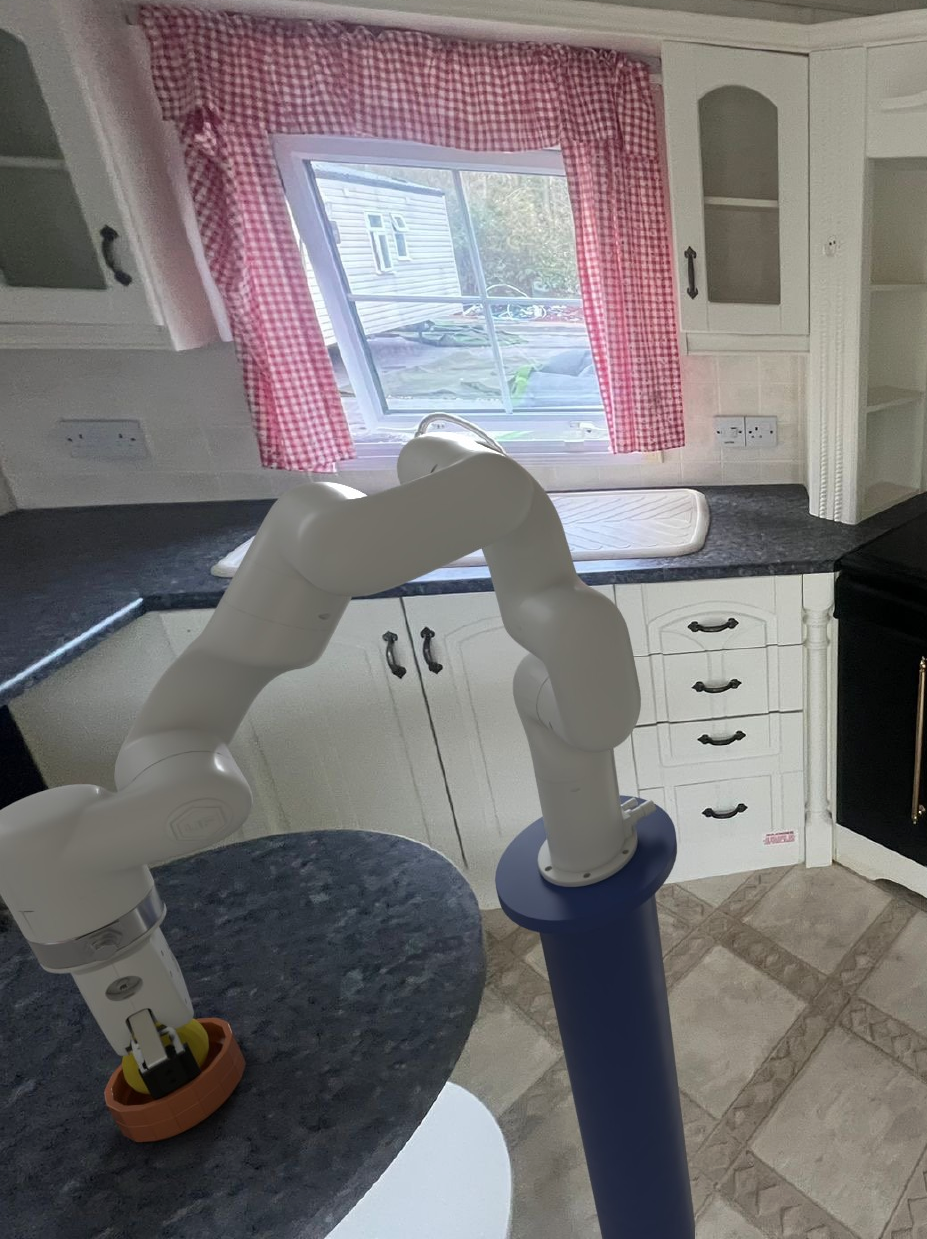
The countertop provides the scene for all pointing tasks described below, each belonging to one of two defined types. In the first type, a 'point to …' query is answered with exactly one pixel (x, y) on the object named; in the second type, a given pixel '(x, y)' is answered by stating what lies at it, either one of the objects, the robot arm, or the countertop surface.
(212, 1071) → the bowl
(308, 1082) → the countertop surface
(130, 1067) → the lemon
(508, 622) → the robot arm
